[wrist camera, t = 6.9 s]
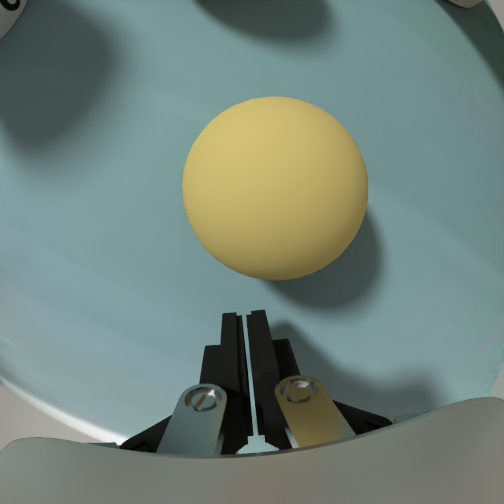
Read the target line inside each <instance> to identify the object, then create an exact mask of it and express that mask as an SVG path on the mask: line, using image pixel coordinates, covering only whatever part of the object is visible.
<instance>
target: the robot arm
mask: <svg viewBox="0 0 504 504" xmlns="http://www.w3.org/2000/svg"><path fill="white" fill-rule="evenodd" d="M246 318H247V328H248V339H249V349H250V359H251V369H252V379H253V389H254V398H255V408H256V417H257V426H258V435H265V443H269V444H271V445H273V446H275V447H277V451H269V452H260V453H248V454H238V450H240V449H241V448H242V447H243V446H245V445H247V444H248V436H253V425H252V414H251V402H250V391H249V379H248V368H247V359H246V350H245V340H244V331H243V321H242V315H241V316H237V314H236V312H234V313H223V315H222V329H221V343H220V345H210V346H205V349H204V356H203V362H202V369H201V376H200V383H199V385H194V386H192V387H190V388H188V389H187V390H185V391H184V392H183V393H182V395H181V396H180V398H179V401H178V403H177V405H176V407H175V410H174V412H173V414H172V415H171V416H169V417H167V418H166V419H164V420H162V421H161V422H159V423H157V424H155V425H153V426H152V427H150V428H148V429H146V430H144V431H143V432H141V433H139V434H137V435H135V436H133V437H131V438H130V439H128V440H126V441H125V442H124V443H122V445H117V444H116V442H113V443H80V442H75V441H69V440H63V439H55V438H42V437H36V438H35V437H34V438H23V439H18V440H15V441H13V442H11V443H9V444H8V445H7V446H6V447H5V448H4V449H3V450H2V451H1V452H0V504H504V400H503V399H500V398H496V397H481V398H474V399H468V400H464V401H460V402H456V403H453V404H450V405H447V406H443V407H440V408H438V409H435V410H433V411H429V412H424V413H418V414H413V415H407V416H400V417H395V420H394V421H390V420H388V419H387V418H384V417H382V416H379V415H376V414H372V413H369V412H366V411H363V410H360V409H357V408H354V407H351V406H348V405H345V404H342V403H339V402H336V401H334V400H332V399H331V398H330V396H329V395H328V393H327V392H326V391H325V389H324V388H323V386H322V385H321V383H320V382H319V381H318V380H316V379H314V378H312V377H308V376H302V375H300V372H299V369H298V366H297V363H296V360H295V357H294V354H293V351H292V348H291V345H290V342H289V340H288V339H278V340H272V338H271V334H270V330H269V325H268V321H267V317H266V313H265V310H257V311H251V315H246Z"/></svg>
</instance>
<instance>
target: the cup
mask: <svg viewBox="0 0 504 504" xmlns="http://www.w3.org/2000/svg"><path fill="white" fill-rule="evenodd" d="M26 3H27V0H0V40H1V39H2V38H3V37H4V36H5V34H6V33H7V32H8V31H9V30H10V28H11V27H12V26H13V25H14V23H15V22H16V20H17V19H18V17H19V16H20V14H21V13H22V11H23V9H24V7H25V5H26Z"/></svg>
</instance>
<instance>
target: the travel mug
mask: <svg viewBox="0 0 504 504" xmlns="http://www.w3.org/2000/svg"><path fill="white" fill-rule="evenodd" d="M449 1H451V2H452V3H454V4H456V5H459V6H462V7H466V8H470V7H473V6H475V5H477V4H478V3H480V2H482V1H484V0H449Z"/></svg>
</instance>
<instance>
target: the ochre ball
mask: <svg viewBox="0 0 504 504" xmlns="http://www.w3.org/2000/svg"><path fill="white" fill-rule="evenodd" d="M182 193H183V201H184V207H185V211H186V215H187V218H188V221H189V223H190V225H191V228H192V230H193V231H194V233H195V235H196V236H197V238H198V239H199V241H200V242H201V244H202V245H203V246H204V247H205V248H206V250H207V251H208V252H209V253H210V254H211V255H212V256H214V257H215V258H216V259H217V260H218V261H220V262H221V263H223V264H224V265H226V266H227V267H229V268H230V269H232V270H234V271H236V272H238V273H241V274H244V275H247V276H249V277H254V278H259V279H263V280H288V279H294V278H299V277H302V276H306V275H309V274H311V273H314V272H316V271H318V270H320V269H322V268H324V267H325V266H327V265H328V264H330V263H331V262H332V261H334V260H335V259H336V258H337V257H338V256H340V255H341V254H342V253H343V251H344V250H345V249H346V248H347V247H348V246H349V244H350V243H351V242H352V240H353V239H354V237H355V236H356V234H357V232H358V230H359V228H360V226H361V224H362V221H363V218H364V215H365V212H366V207H367V201H368V178H367V172H366V167H365V164H364V160H363V157H362V155H361V153H360V151H359V149H358V147H357V145H356V143H355V141H354V140H353V138H352V137H351V135H350V134H349V133H348V131H347V130H346V129H345V128H344V127H343V126H342V125H341V124H340V123H339V122H338V121H337V120H336V119H335V118H334V117H332V116H331V115H330V114H328V113H327V112H325V111H324V110H322V109H321V108H319V107H316V106H314V105H312V104H310V103H307V102H304V101H301V100H298V99H294V98H288V97H263V98H255V99H251V100H248V101H244V102H241V103H239V104H237V105H234V106H232V107H230V108H229V109H227V110H225V111H224V112H222V113H221V114H219V115H218V116H217V117H216V118H214V119H213V120H212V121H211V122H210V123H209V124H208V125H207V126H206V127H205V128H204V129H203V131H202V132H201V133H200V134H199V136H198V137H197V139H196V141H195V142H194V144H193V146H192V148H191V150H190V152H189V154H188V157H187V160H186V164H185V167H184V173H183V182H182Z"/></svg>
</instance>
